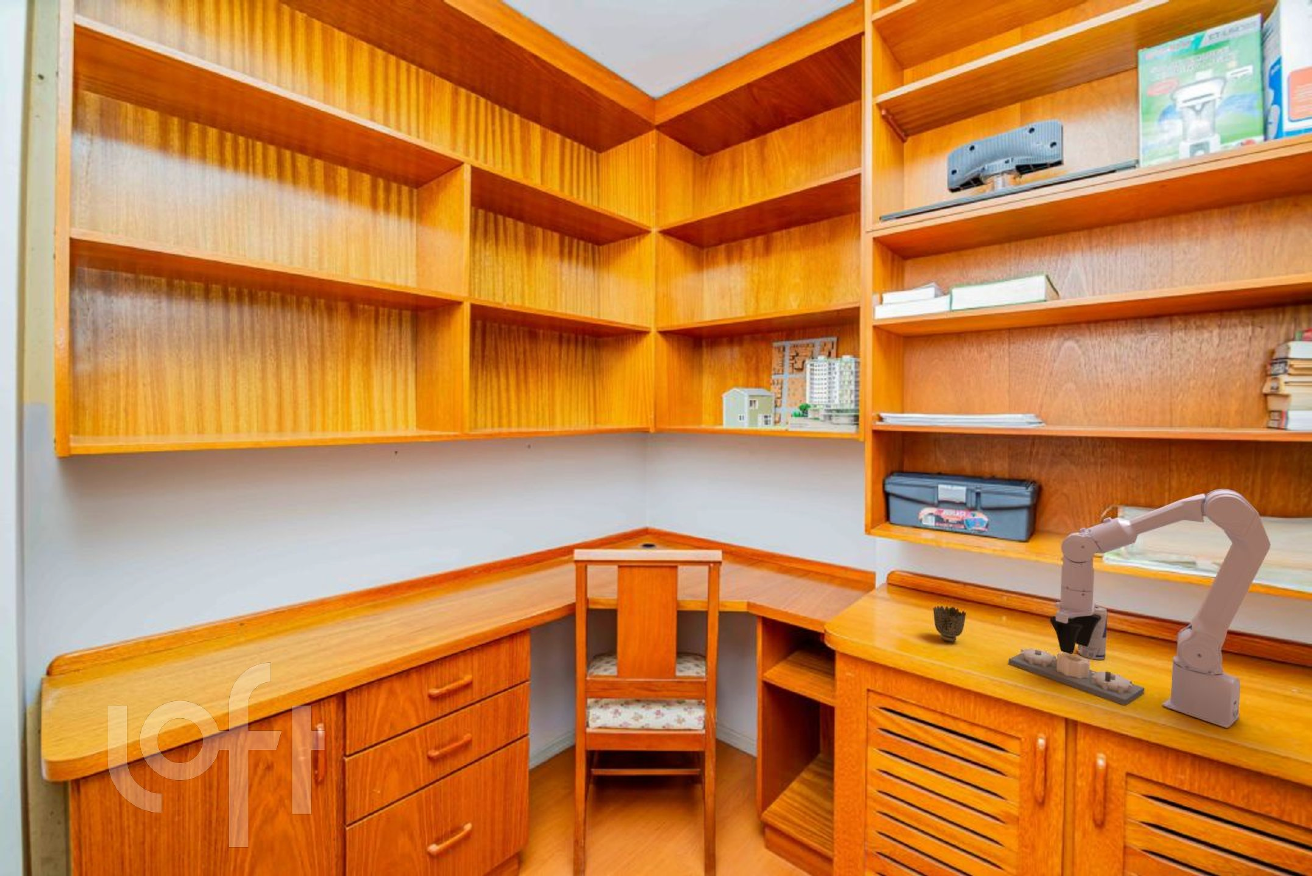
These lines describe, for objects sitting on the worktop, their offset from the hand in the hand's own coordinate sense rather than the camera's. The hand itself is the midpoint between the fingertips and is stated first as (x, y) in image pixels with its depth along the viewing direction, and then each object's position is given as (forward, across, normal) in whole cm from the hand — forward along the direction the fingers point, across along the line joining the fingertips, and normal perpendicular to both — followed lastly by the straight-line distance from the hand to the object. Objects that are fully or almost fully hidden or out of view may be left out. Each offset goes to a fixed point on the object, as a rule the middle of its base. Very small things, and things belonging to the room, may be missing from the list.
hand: (1074, 648), depth 125 cm
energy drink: (+7, -18, -3) cm, 19 cm away
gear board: (+7, 0, 0) cm, 7 cm away
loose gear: (+5, 0, 0) cm, 5 cm away
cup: (+7, +4, -26) cm, 27 cm away
